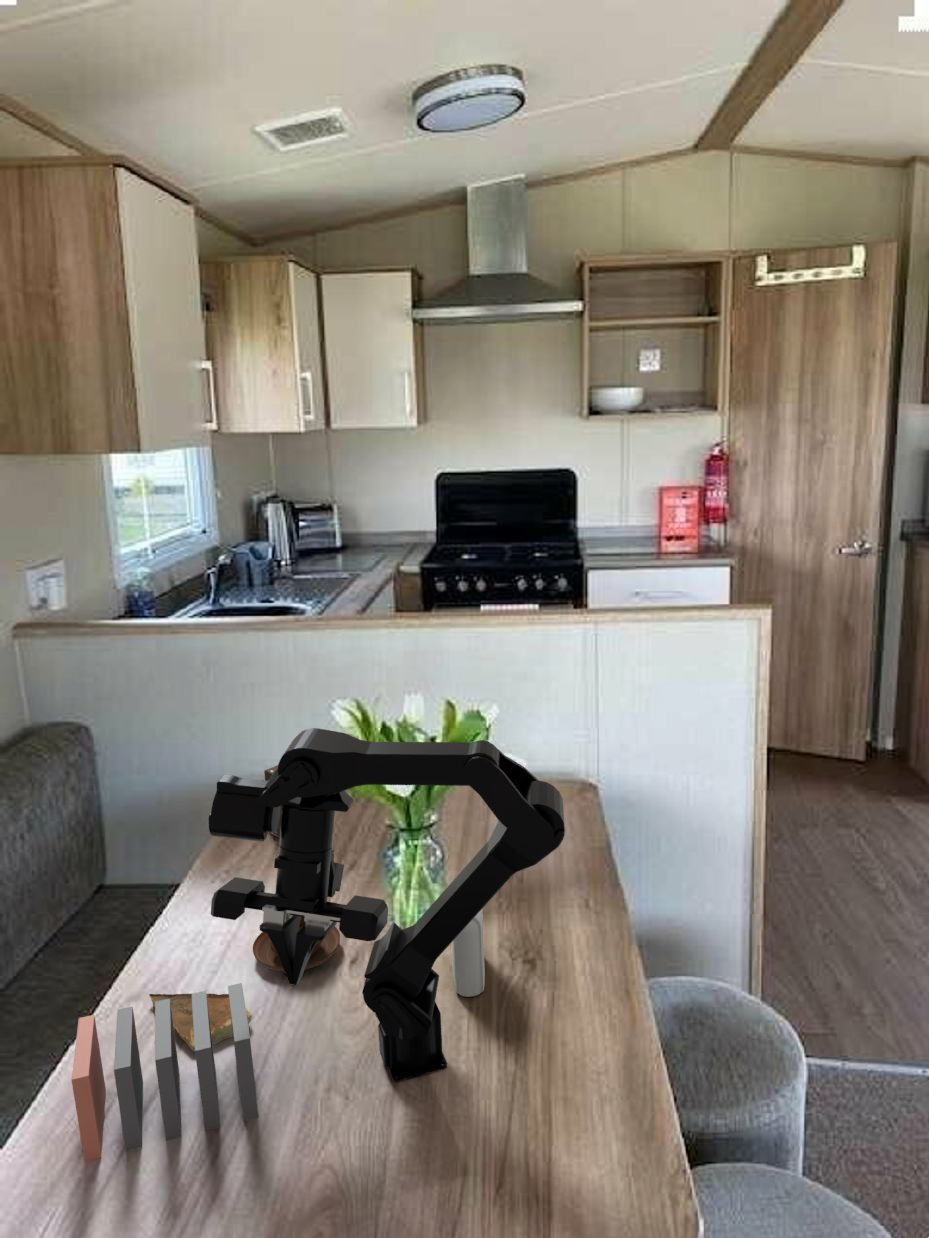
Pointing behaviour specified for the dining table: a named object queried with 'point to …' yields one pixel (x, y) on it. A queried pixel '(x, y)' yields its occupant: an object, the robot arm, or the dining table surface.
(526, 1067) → the dining table surface
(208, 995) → the shard
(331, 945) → the cup and saucer
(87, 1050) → the domino
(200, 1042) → the domino
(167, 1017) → the domino
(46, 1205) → the dining table surface
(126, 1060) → the domino
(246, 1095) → the domino
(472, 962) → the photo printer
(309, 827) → the robot arm
